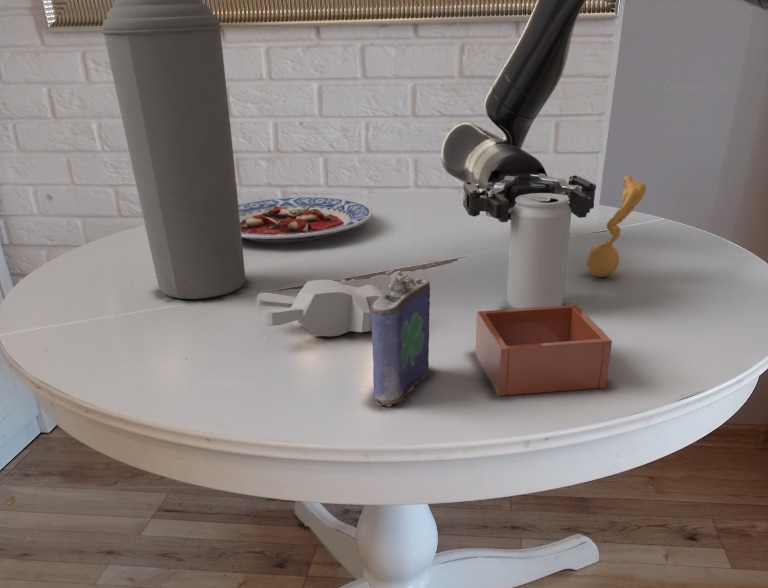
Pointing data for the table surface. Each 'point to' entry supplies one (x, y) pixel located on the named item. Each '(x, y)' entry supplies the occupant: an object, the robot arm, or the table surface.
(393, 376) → the flask
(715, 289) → the table surface
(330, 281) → the bunny figurine
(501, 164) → the robot arm
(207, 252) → the canister
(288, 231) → the ceramic plate
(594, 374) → the box
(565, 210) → the beverage can
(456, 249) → the table surface
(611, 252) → the figurine
